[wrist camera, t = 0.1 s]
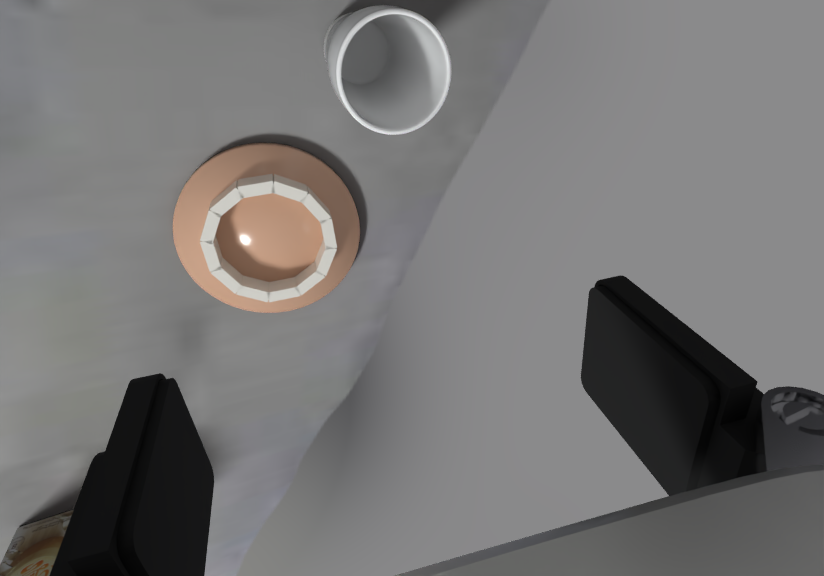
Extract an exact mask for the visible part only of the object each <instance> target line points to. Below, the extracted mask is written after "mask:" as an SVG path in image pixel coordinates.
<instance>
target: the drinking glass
mask: <svg viewBox="0 0 824 576" xmlns="http://www.w3.org/2000/svg"><path fill="white" fill-rule="evenodd" d="M324 56H325V60H326V63H327V67H328V74H329V78H330V81H331V85H332V87H333V89H334V92H335V94H336V96H337V97H338V99H339V101H340V102H341V104H342V105H343V106H344V108H345V109H346V110H347V111H348V112H349V113H350V114H351V115H352V116H353V117H354V118H355V119H356V120H357V121H358V122H359V123H360V124H362V125H363V126H365V127H366V128H368V129H370V130H373V131H375V132H378V133H382V134H389V135H397V134H404V133H408V132H411V131H414V130H416V129H418V128H420V127H422V126H423V125H425V124H426V123H427V122H429V121H430V120H431V119H432V118H433V117H434V116H435V115H436V113H437V112H438V111H439V110H440V108H441V107H442V105H443V103H444V101H445V99H446V97H447V94H448V91H449V88H450V83H451V74H452V66H451V58H450V54H449V50H448V47H447V45H446V42H445V40H444V38H443V37H442V35H441V34H440V32H439V31H438V29H437V28H436V27H435V26H434V25H433V24H432V23H431V22H430V21H429V20H427V19H426V18H425V17H423V16H422V15H420V14H418V13H416V12H413V11H410V10H408V9H405V8H402V7H398V6H392V5H374V6H369V7H365V8H362V9H360V10H357V11H355V12H350V13H347V14H344V15H342V16H340V17H339V18H337V19H336V20H335V21H334V22H333V23H332V24H331V26H330V27H329V29H328V31H327V33H326V36H325V40H324Z"/></svg>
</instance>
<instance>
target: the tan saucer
mask: <svg viewBox="0 0 824 576" xmlns="http://www.w3.org/2000/svg"><path fill="white" fill-rule="evenodd" d="M173 236H174V243H175V246H176V250H177V253H178V255H179V258H180V260H181V262H182V264H183V266H184V267H185V269H186V270H187V272H188V274H189V275H190V276H191V277H192V278H193V280H194V281H195V282H196V283H197V284H198V285H199V286H200V287H201V288H202V289H204V290H205V291H206V292H208V293H209V294H210V295H212V296H213V297H215V298H217V299H218V300H220V301H222V302H224V303H226V304H229V305H231V306H233V307H237V308H240V309H243V310H248V311H253V312H264V313H274V312H284V311H291V310H294V309H298V308H301V307H304V306H307V305H309V304H311V303H313V302H315V301H317V300H319V299H321V298H322V297H324V296H325V295H327V294H328V293H329V292H331V291H332V290H333V289H334V288H335V287H336V286H337V285H338V284H339V283H340V282H341V281H342V280H343V279H344V277H345V276H346V274H347V273H348V271H349V270H350V268H351V266H352V264H353V262H354V260H355V257H356V254H357V251H358V246H359V241H360V224H359V217H358V213H357V209H356V206H355V203H354V201H353V198H352V196H351V194H350V192H349V190H348V188H347V187H346V185H345V184H344V182H343V181H342V180H341V178H340V177H339V176H338V175H337V174H336V173H335V172H334V171H333V170H332V168H330V167H329V166H328V165H327V164H325V163H324V162H323V161H322V160H320V159H318V158H317V157H315V156H313V155H312V154H310V153H308V152H305V151H303V150H301V149H298V148H295V147H292V146H288V145H283V144H277V143H262V142H261V143H250V144H244V145H240V146H235V147H233V148H230V149H227V150H224V151H222V152H220V153H219V154H217V155H215V156H213V157H211V158H210V159H209V160H207V161H206V162H205V163H203V164H202V165H201V166H200V167H199V168H198V169H197V170H196V171H195V172H194V173H193V174H192V175H191V177H190V178H189V179H188V181H187V182H186V184H185V186H184V188H183V189H182V191H181V193H180V196H179V198H178V201H177V204H176V207H175V212H174V217H173Z"/></svg>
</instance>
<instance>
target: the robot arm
mask: <svg viewBox="0 0 824 576" xmlns="http://www.w3.org/2000/svg"><path fill="white" fill-rule="evenodd" d="M581 381H582V384H583V387H584V389H585V391H586V392H587V393H588V395H589V396H590V397H591V398H592V400H593V401H594V402H595V404H596V405H597V406H598V407H599V408H600V410H601V411H602V412H603V414H604V415H605V416H606V417H607V419H608V420H609V421H610V422H611V424H612V425H613V426H614V427H615V428H616V430H617V431H618V432H619V434H620V435H621V436H622V437H623V438H624V440H625V441H626V442H627V444H628V445H629V446H630V447H631V449H632V450H633V451H634V452H635V454H636V455H637V456H638V457H639V459H641V461H642V462H643V464H644V465H645V466H646V467H647V469H648V470H649V471H650V472H651V474H652V475H653V476H654V477H655V478H656V480H657V481H658V482H659V483H660V485H661V486H662V487H663V489H664V490H665V491H666V492H667V494H668V495H669V496H668V497H665V498H662V499H658V500H654V501H651V502H647V503H644V504H641V505H637V506H633V507H630V508H626V509H623V510H619V511H616V512H612V513H609V514H605V515H602V516H598V517H595V518H591V519H587V520H584V521H580V522H577V523H574V524H570V525H566V526H563V527H560V528H556V529H553V530H549V531H546V532H542V533H539V534H535V535H532V536H529V537H525V538H522V539H519V540H515V541H511V542H508V543H505V544H501V545H498V546H494V547H491V548H487V549H484V550H480V551H477V552H474V553H470V554H467V555H463V556H460V557H456V558H453V559H450V560H446V561H443V562H439V563H436V564H432V565H429V566H426V567H422V568H419V569H416V570H412V571H409V572H405V573H402V574H399V575H395V576H824V395H822V394H820V393H818V392H815V391H811V390H808V389H804V388H797V387H777V388H774V389H771V390H768V391H767V392H766V393H765V394H763V393H762V392H761V391H759V390H758V389H757V388H756V385H757V381H756V380H755V379H754V378H752V377H751V376H750V375H749V374H747V373H746V372H745V371H743V370H742V369H741V368H740V367H738V366H737V365H736V364H735V363H733V362H732V361H731V360H730V359H728V358H727V357H726V356H725V355H723V354H722V353H721V352H719V351H718V350H717V349H716V348H714V347H713V346H712V345H711V344H709V343H708V342H707V341H706V340H704V339H703V338H702V337H701V336H699V335H698V334H697V333H695V332H694V331H693V330H692V329H691V328H689V327H688V326H687V325H686V324H684V323H683V322H682V321H680V320H679V319H678V318H677V317H675V316H674V315H673V314H672V313H670V312H669V311H668V310H667V309H665V308H664V307H663V306H662V305H660V304H659V303H658V302H656V301H655V300H654V299H653V298H651V297H650V296H649V295H648V294H646V293H645V292H644V291H643V290H641V289H640V288H639V287H638V286H636V285H635V284H634V283H632V282H631V281H630V280H629V279H627V278H626V277H624V276H616V277H611V278H607V279H603V280H599V281H597V282H596V284H595V287H594V288H592V289H591V290H590V291H589V298H588V309H587V319H586V329H585V340H584V350H583V360H582V371H581ZM213 487H214V475H213V470H212V466H211V464H210V461H209V459H208V456H207V454H206V452H205V449H204V447H203V444H202V442H201V440H200V437H199V435H198V432H197V430H196V428H195V425H194V423H193V420H192V418H191V416H190V413H189V411H188V408H187V406H186V404H185V401H184V399H183V396H182V394H181V392H180V389H179V387H178V384H177V382H176V380H175V379H174V378H170V379H166V378H165V376H164V375H163V374H161V373H160V374H155V375H150V376H146V377H141V378H136V379H133V380H131V381H130V383H129V385H128V388H127V391H126V393H125V396H124V399H123V402H122V405H121V408H120V411H119V413H118V416H117V419H116V422H115V425H114V428H113V431H112V433H111V436H110V439H109V442H108V445H107V448H106V451H105V452H101V453H98V454H97V455H96V456H95V457H94V459H93V461H92V462H91V465H90V467H89V470H88V473H87V476H86V478H85V481H84V484H83V486H82V489H81V492H80V494H79V497H78V500H77V502H76V505H75V508H74V511H73V513H72V516H71V519H70V521H69V524H68V527H67V529H66V532H65V535H64V538H63V540H62V543H61V546H60V548H59V551H58V554H57V556H56V559H55V562H54V564H53V567H52V570H51V573H50V575H49V576H204V572H205V563H206V553H207V544H208V535H209V525H210V516H211V506H212V497H213Z"/></svg>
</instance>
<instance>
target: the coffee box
mask: <svg viewBox="0 0 824 576" xmlns="http://www.w3.org/2000/svg"><path fill="white" fill-rule="evenodd" d="M73 511H74V510H71V511H68V512H64V513H61V514H58V515H55V516H52V517H49V518H46V519H43V520H40V521H37V522H34V523H31V524H28V525H25V526H22V527H19V528H18V529H17V530H16V533H15V535H14V537H13V539H12V541H11V543H10V545H9V547H8V550H7V552H6V554H5V556H4V558H3V560H2V562H1V565H0V576H49V575H50V573H51V570H52V567H53V564H54V562H55V559H56V556H57V554H58V551H59V548H60V546H61V543H62V540H63V538H64V535H65V532H66V529H67V527H68V524H69V521H70V519H71V516H72V513H73Z"/></svg>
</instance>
